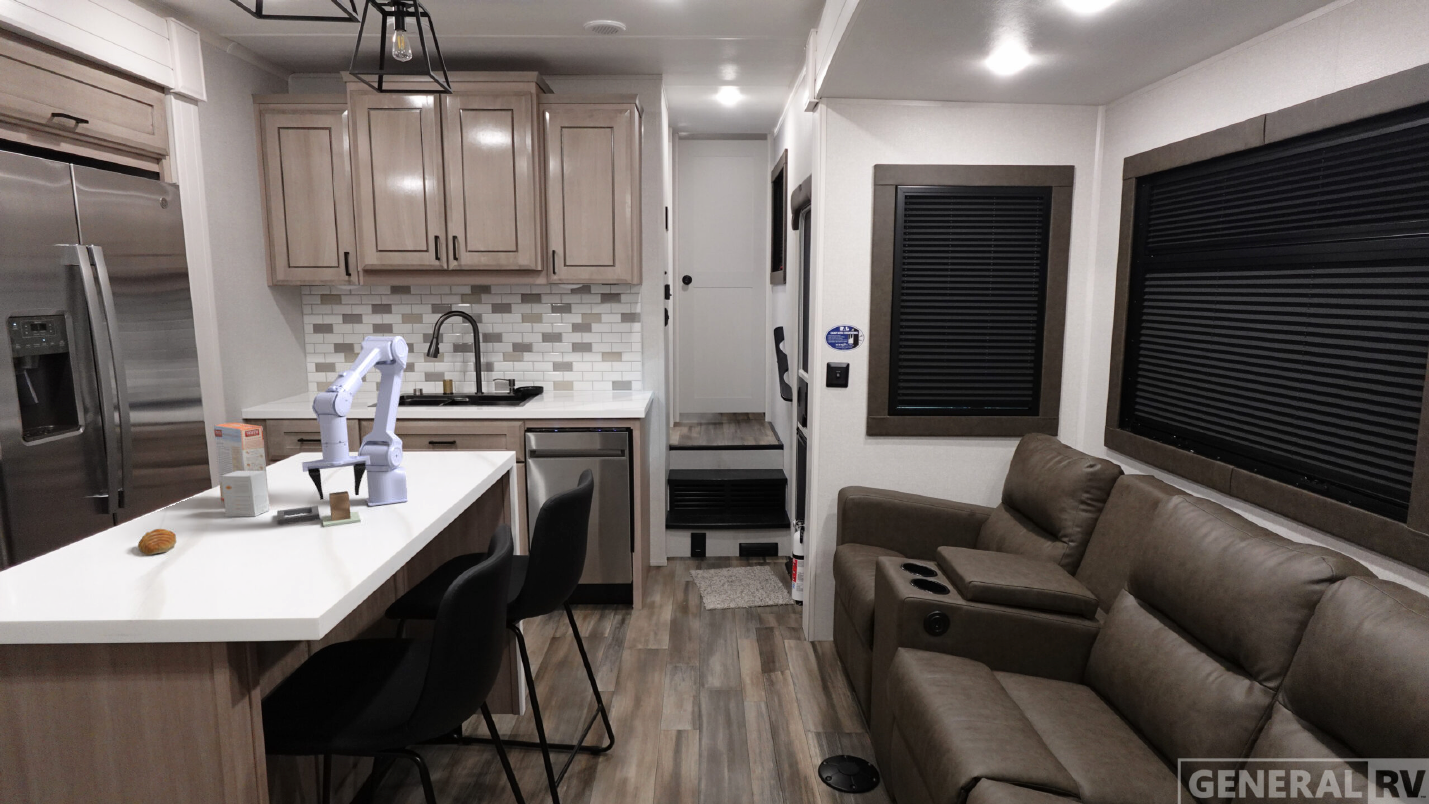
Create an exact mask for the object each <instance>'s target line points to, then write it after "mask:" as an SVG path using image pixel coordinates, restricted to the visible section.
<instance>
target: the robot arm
mask: <svg viewBox="0 0 1429 804" xmlns="http://www.w3.org/2000/svg"><path fill="white" fill-rule="evenodd" d="M408 355H409V346H408V345H407V342H406V340H405V338H403V337H402V336H401V335H395V336H373V335H368V336H366V337H365V338H364V340H363V341H362V342H361V343H360V352H359V354H358V356H357V357H356V358H355V360H354V362H353V364H352V365H351V367H350V368H349V370H342V371H340V372H338V375H337V376H336V378H335V379H334V380H333V382H332V383H331V384H330V385H329V386H328V388H327V389H326V390H325V391H322V392H320V393H318V394H317V395H316V396H315V397H314V398H313V401H312V402H313V403H312V405H311V407H312V408H311V409H312V411H313V413H314V414H315V416H316V421H317V423H318V424H319V430H320V442H321V452H322V459H317V460H312V461H303V462H301V465H302V472H303V473H306V472H308V475H309V477H310V479H311V481H312V482H313V484H314V486H315V487H316V490H317V492H318V495H319V500H320V501H322V500H324V494H323V487H322V476H321V475H322V474H321V470H326V469H328V470H329V469H333V468H334V469H335V468H336V469H337V468H344V467H352V468H353V475H354V476H353V477H354V494H355V496H359V495H360V487H361V483H362V479H363V476H364V474H365V473H366V480H367V481H366V482H367V483H366V484H367V495H368V496H367V497H366V498H365V500H366V503H367V505H368V507H374V506H376V507H377V506H381V505H389V504H395V503H396V504H397V503H404V502H408V501H409V500H408V487H407V478H406V477H407V476H406V470H405V467H404V466H400V464H402V461H403V457H404V455H403V454H404V451H403V441H402V439H401V438H400V437H399V436H398V435H397V434H395V429H396V422H397V417H398V408H399V403H400V395H401V389H402V383H403V375H404V370H405V369H406V368H407V361H408ZM373 367H374V369H376V370H378V371H379V372H380V374H381V375H380V382H379V387H378V388H379V389H378V395H377V400H376V405H375V406H376V407H375V414H374V419H373V426H372V430H371V431H370V432H369V433H368V434H366V435H365V436H363V438H362V442H361V445H360V447H359V449H358V452H357V456H354V455H352V456H351V455H350V450H349V438H348V437H349V435H348V426H347V415H348V414H349V413H350V412H351V408H352V403H353V400H354V397H355V396H356V394H357V392H359V390H361V388H362V386H363V380H362V379H363V378H364V376H365V375H367V373H368V372H369V371H370V370H371V369H372V368H373Z"/></svg>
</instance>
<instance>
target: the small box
mask: <svg viewBox="0 0 1429 804" xmlns="http://www.w3.org/2000/svg"><path fill="white" fill-rule="evenodd" d="M266 474H267V471H266V472H265V471H235V472H232V473H229V474H226V475H223V476H221V477H222V486H223V494H224V501H223V503H224V510H225V516H226V517H252V516H255V517H258V516H259V515H261V513H262V514H265V513H268V512H269V511H270V509H271V508H270V501H269V500H270V499H269V498H268V497H269V489H267V486H268V480H267V481H266Z"/></svg>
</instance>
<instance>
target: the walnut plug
mask: <svg viewBox="0 0 1429 804" xmlns="http://www.w3.org/2000/svg"><path fill="white" fill-rule="evenodd" d="M328 495H329V496H328V497H329V507H330V508H329V509H330V515H331V519H332V521H338V520H345V519H351V516H350V512H351V506H350V505H351V504H350V494H349V491H347V490H346V491H345V490H344V491H337V492H329V493H328Z"/></svg>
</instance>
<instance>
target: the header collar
mask: <svg viewBox="0 0 1429 804" xmlns="http://www.w3.org/2000/svg"><path fill="white" fill-rule="evenodd" d="M309 512H311V513H309ZM300 513H303V514H300ZM295 514H296V515H295ZM285 515H288V516H285ZM315 519H316V520H320V510H319V505H313V506H305V507H296V508H288V509H282V510H281V509H280V510H279V509H278V510H277V511H276V522H277V524H279V525H285V524H284V523H287V524H290V523H289V522H294V523H300V522H299V521H301V522H307V520H308V521H314V520H315ZM316 520H315V521H316Z"/></svg>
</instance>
